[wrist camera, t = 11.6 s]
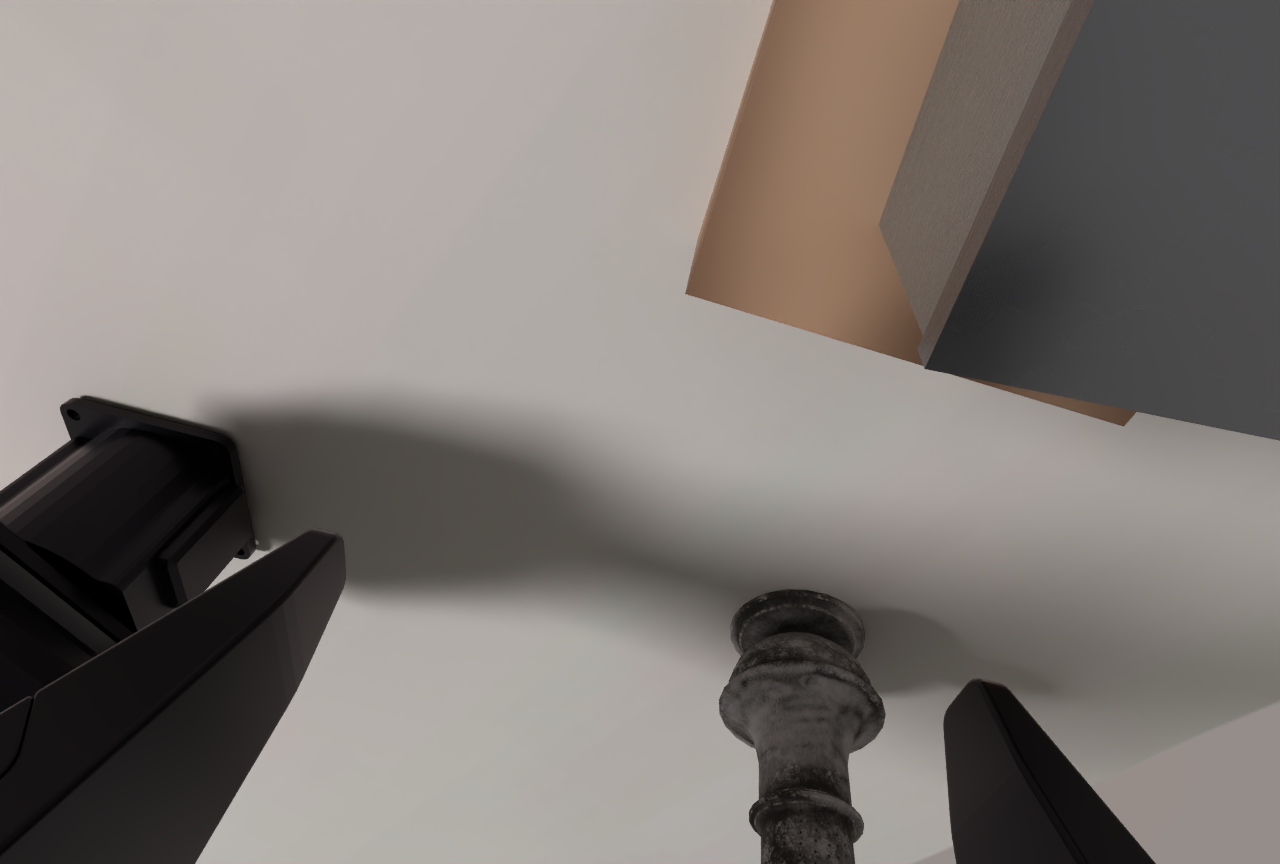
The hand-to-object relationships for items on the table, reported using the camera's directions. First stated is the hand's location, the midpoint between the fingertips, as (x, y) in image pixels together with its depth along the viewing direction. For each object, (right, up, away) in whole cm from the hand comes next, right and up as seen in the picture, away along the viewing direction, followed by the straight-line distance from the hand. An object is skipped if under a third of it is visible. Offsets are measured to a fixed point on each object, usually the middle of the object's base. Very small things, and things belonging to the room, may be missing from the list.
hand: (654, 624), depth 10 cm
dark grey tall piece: (+6, -5, +18) cm, 20 cm away
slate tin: (+8, +9, +3) cm, 12 cm away
